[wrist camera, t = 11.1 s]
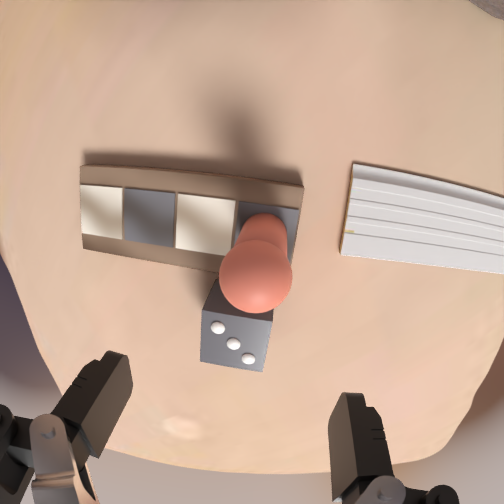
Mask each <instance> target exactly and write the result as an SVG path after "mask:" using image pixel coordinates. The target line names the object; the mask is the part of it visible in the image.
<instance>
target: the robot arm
mask: <svg viewBox="0 0 504 504" xmlns="http://www.w3.org/2000/svg"><path fill="white" fill-rule="evenodd" d="M132 388H133V381H132V376H131V370H130V365H129V359H128V357H127V355H123V354H120V353H116V352H113V351H107V352H106V353H105V354H104V356H103V357H102V359H101V360H100V361H98V360H95V359H94V360H93V361H91V362H90V363H88V364H87V365H85V366H84V367H83V368H82V370H81V371H80V373H79V374H78V375H77V378H75V380H74V381H73V382H72V385H70V387H69V388H68V389H67V391H66V392H65V394H64V395H63V397H62V398H61V400H60V401H59V403H58V404H57V405H56V407H55V409H54V410H53V411H52V412H51V413H50V414H43V415H40V416H38V417H36V418H35V419H28V418H23V417H18V416H13V414H12V413H11V411H10V410H9V408H8V407H6V406H4V405H1V404H0V504H20V502H21V500H22V498H23V496H24V493H25V491H26V489H27V487H28V485H29V483H30V480H31V478H32V476H33V474H34V472H35V475H36V479H35V480H33V481H32V483H31V488H32V493H33V498H34V502H35V504H100V503H99V500H98V497H97V494H96V491H95V489H94V486H93V483H92V479H91V476H90V473H89V469H88V466H87V463H86V461H87V459H88V457H89V455H91V456H94V457H96V458H99V457H100V455H101V453H102V451H103V449H104V447H105V445H106V443H107V441H108V439H109V437H110V435H111V433H112V431H113V429H114V427H115V425H116V423H117V421H118V419H119V417H120V415H121V413H122V411H123V409H124V407H125V405H126V403H127V401H128V400H129V398H130V396H131V393H132ZM383 429H384V428H383V424H382V419H381V417H380V415H379V414H378V413H377V411H376V410H375V408H374V407H366V403H365V398H364V395H363V394H362V393H346V392H343V393H342V394H341V396H340V398H339V400H338V402H337V404H336V406H335V408H334V410H333V412H332V414H331V416H330V419H329V423H328V437H329V450H330V465H331V482H332V501H333V502H342V504H459V499H458V496H457V493H456V492H455V490H454V489H453V488H451V487H450V486H447V485H438V486H436V487H434V488H432V489H431V490H430V491H424V490H417V489H411V488H407V487H405V486H404V485H403V483H402V482H401V481H400V480H399V479H397V478H395V476H394V474H393V470H392V465H391V460H390V455H389V450H388V446H387V441H386V440H385V439H386V437H385V432H384V431H383Z"/></svg>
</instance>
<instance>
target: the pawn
mask: <svg viewBox="0 0 504 504" xmlns="http://www.w3.org/2000/svg"><path fill="white" fill-rule="evenodd" d="M219 283H220V287H221V290H222V292H223V294H224V296H225V298H226V299H227V300H228V301H229V302H230V303H231V304H232V305H233V306H234V307H236V308H238V309H240V310H242V311H245V312H249V313H263V312H267V311H269V310H272V309H273V308H275V307H277V306H278V305H279V304H280V303H281V302H282V301H283V300H284V299H285V298H286V296H287V295H288V292H289V290H290V288H291V284H292V270H291V266H290V263H289V261H288V259H287V230H286V227H285V225H284V223H283V222H282V221H281V219H279V218H278V217H277V216H275V215H273V214H270V213H258V214H255V215H253V216H251V217H250V218H248V219H247V220H246V222H245V223H244V225H243V227H242V230H241V232H240V234H239V236H238V239H237V241H236V243H235V245H234V247H233V248H232V249H231V250H230V251H229V252H228V253H227V254H226V256H225V257H224V259H223V261H222V263H221V266H220V270H219Z"/></svg>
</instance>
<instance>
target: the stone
mask: <svg viewBox="0 0 504 504" xmlns="http://www.w3.org/2000/svg"><path fill="white" fill-rule="evenodd" d="M469 1H471V2H472V3H474V4H475V5H477V6H478V7H480V8H481V9H483V10H484V11H486V12H487V13H489V14H490V15H492V16H494V17H496V18H499V19H502V20H504V0H469Z"/></svg>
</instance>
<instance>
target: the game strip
mask: <svg viewBox="0 0 504 504" xmlns="http://www.w3.org/2000/svg"><path fill="white" fill-rule="evenodd" d="M303 194H304V186H302V185H295V184H289V183H282V182H276V181H269V180H262V179H254V178H247V177H239V176H231V175H223V174H214V173H205V172H195V171H185V170H173V169H162V168H148V167H134V166H116V165H94V164H87V165H83V166H80V207H81V227H82V240H83V249H88V250H93V251H98V252H103V253H109V254H114V255H120V256H125V257H131V258H136V259H142V260H147V261H153V262H159V263H164V264H170V265H176V266H182V267H188V268H194V269H200V270H206V271H212V272H218V273H219V270H220V266H221V263H222V261H223V259H224V257H225V256H226V254H227V253H228V252H229V251H230V250H231V249H232V248H233V247H234V245H235V243H236V241H237V239H238V236H239V234H240V232H241V230H242V227H243V225H244V223H245V222H246V220H247V219H248V218H250V217H251V216H253V215H255V214H258V213H270V214H273V215H275V216H277V217H278V218H279V219H281V221H282V222H283V223H284V225H285V227H286V230H287V259H288V261H289V263H290V266H291V263H292V257H293V252H294V246H295V241H296V235H297V229H298V224H299V218H300V212H301V206H302V200H303Z"/></svg>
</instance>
